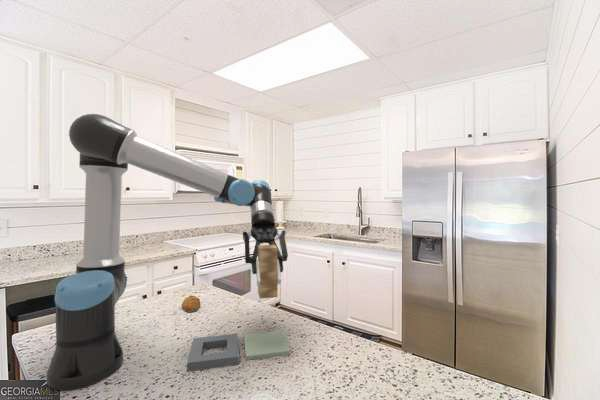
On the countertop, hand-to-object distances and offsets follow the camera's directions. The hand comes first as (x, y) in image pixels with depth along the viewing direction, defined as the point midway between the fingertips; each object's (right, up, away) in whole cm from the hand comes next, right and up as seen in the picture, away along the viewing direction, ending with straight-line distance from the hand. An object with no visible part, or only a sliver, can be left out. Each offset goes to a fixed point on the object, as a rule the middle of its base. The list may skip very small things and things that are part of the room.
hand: (269, 282), depth 79 cm
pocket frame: (-15, -19, -1) cm, 24 cm away
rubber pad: (-1, -19, +4) cm, 20 cm away
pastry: (-33, -19, +32) cm, 50 cm away
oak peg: (-1, -5, +4) cm, 6 cm away
